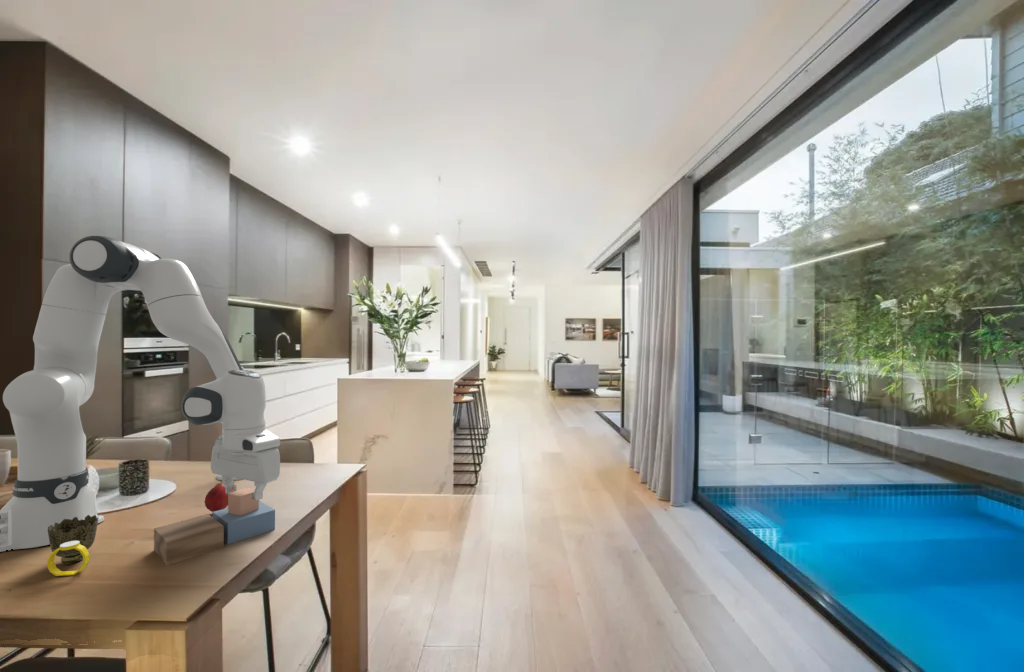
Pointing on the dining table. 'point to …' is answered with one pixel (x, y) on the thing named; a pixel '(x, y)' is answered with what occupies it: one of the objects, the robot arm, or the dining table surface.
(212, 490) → the onion
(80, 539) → the cup
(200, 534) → the walnut block
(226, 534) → the slate-blue block
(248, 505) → the terracotta cube
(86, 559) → the watch
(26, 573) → the dining table surface
